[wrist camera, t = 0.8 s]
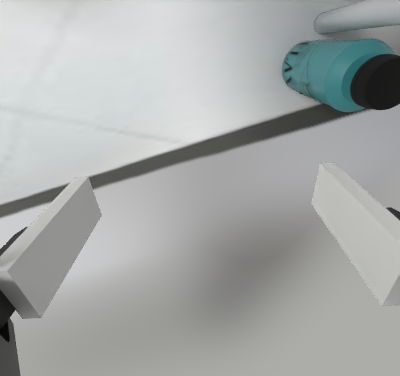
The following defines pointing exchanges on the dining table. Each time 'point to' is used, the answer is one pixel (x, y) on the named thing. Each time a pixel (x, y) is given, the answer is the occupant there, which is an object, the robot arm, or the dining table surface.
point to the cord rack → (359, 16)
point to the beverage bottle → (345, 73)
